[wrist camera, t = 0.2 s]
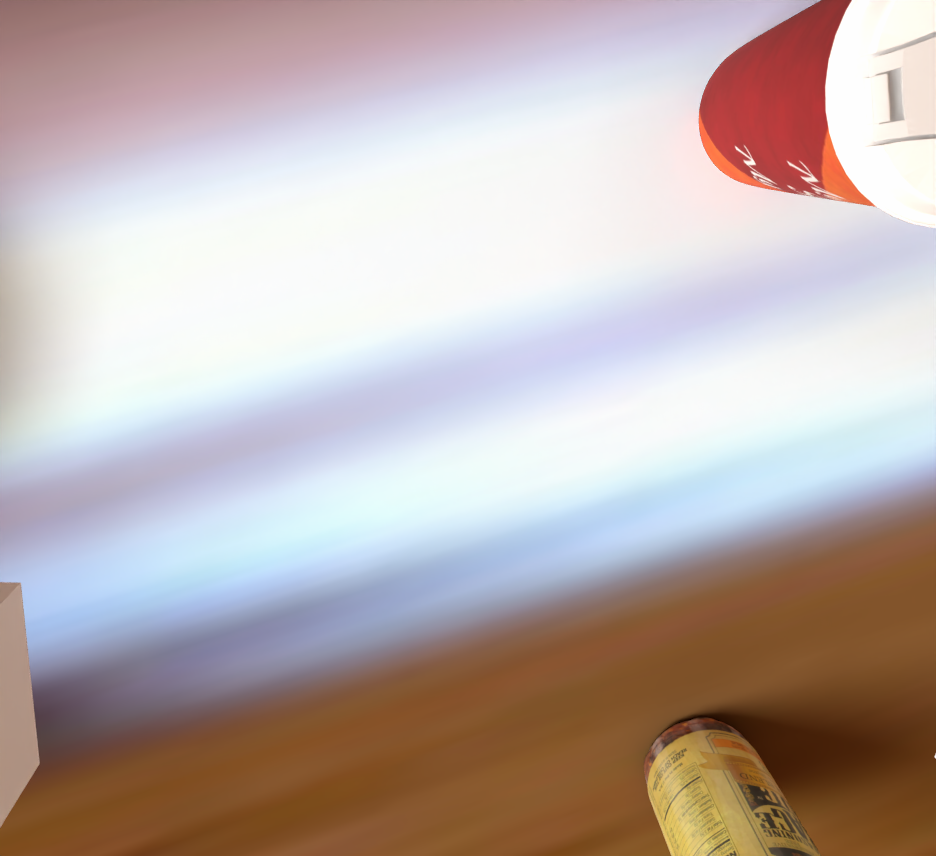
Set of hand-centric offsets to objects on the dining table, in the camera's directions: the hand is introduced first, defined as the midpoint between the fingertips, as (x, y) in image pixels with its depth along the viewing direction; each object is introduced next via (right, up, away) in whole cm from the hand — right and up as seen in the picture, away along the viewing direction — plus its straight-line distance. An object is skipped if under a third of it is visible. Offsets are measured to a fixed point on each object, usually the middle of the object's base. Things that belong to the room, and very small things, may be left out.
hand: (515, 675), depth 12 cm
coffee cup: (+12, +17, +25) cm, 33 cm away
